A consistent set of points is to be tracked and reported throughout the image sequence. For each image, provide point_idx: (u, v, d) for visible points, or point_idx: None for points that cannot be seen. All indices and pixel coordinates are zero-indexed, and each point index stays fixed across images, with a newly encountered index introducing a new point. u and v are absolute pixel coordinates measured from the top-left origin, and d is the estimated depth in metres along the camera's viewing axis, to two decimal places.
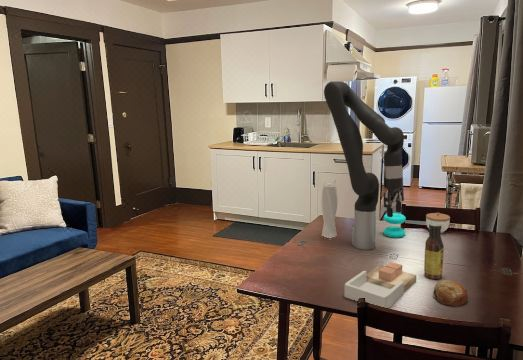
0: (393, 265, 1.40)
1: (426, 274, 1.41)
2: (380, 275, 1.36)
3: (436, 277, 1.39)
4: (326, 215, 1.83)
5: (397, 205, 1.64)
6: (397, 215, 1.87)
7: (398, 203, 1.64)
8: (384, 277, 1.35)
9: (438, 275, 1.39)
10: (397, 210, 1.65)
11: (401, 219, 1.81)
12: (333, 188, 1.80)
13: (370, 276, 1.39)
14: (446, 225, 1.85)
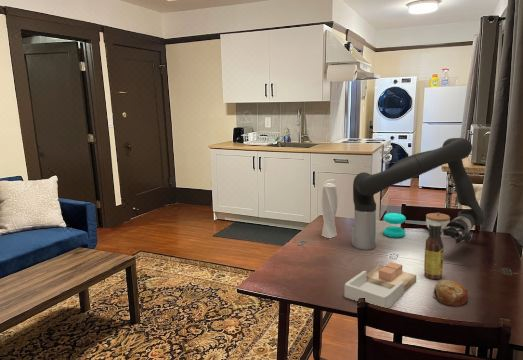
0: (393, 265, 1.40)
1: (426, 274, 1.41)
2: (380, 275, 1.36)
3: (436, 277, 1.39)
4: (326, 215, 1.83)
5: None
6: (397, 215, 1.87)
7: None
8: (384, 277, 1.35)
9: (438, 275, 1.39)
10: None
11: (401, 219, 1.81)
12: (333, 188, 1.80)
13: (370, 276, 1.39)
14: None
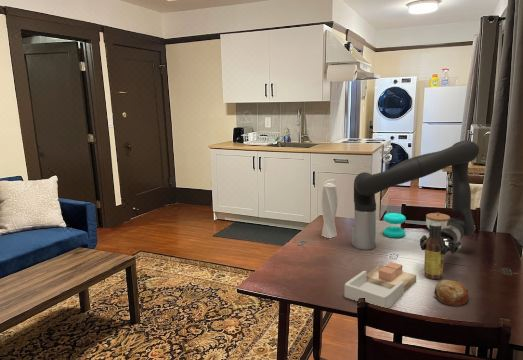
0: (393, 265, 1.40)
1: (426, 274, 1.41)
2: (380, 275, 1.36)
3: (436, 277, 1.39)
4: (326, 215, 1.83)
5: None
6: (397, 215, 1.87)
7: None
8: (384, 277, 1.35)
9: (438, 275, 1.39)
10: (424, 246, 1.41)
11: (401, 219, 1.81)
12: (333, 188, 1.80)
13: (370, 276, 1.39)
14: (446, 225, 1.85)
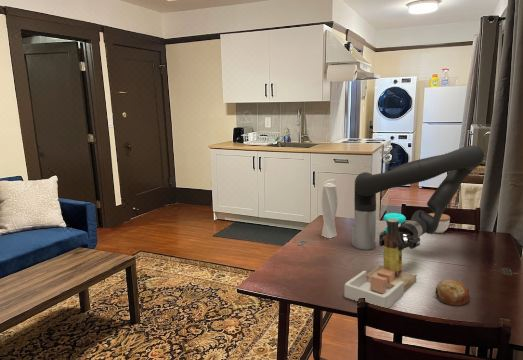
0: (385, 271, 1.35)
1: None
2: None
3: (395, 273, 1.36)
4: (326, 215, 1.83)
5: None
6: (397, 215, 1.87)
7: None
8: None
9: (397, 271, 1.36)
10: (382, 242, 1.37)
11: (401, 219, 1.81)
12: (333, 188, 1.80)
13: (370, 276, 1.39)
14: (446, 225, 1.85)
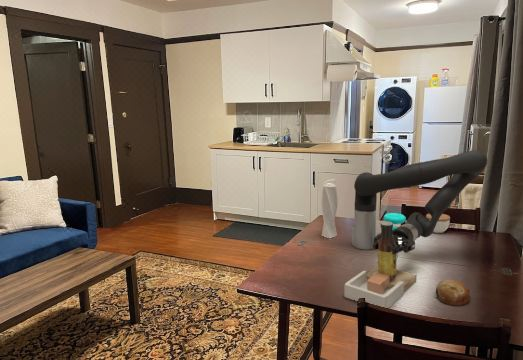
0: (379, 276, 1.32)
1: None
2: None
3: None
4: (326, 215, 1.83)
5: None
6: (397, 215, 1.87)
7: None
8: None
9: (392, 275, 1.33)
10: (376, 245, 1.34)
11: (401, 219, 1.81)
12: (333, 188, 1.80)
13: (370, 276, 1.39)
14: (446, 225, 1.85)
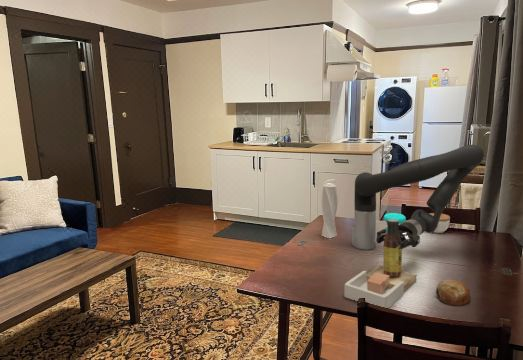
0: (379, 276, 1.32)
1: (385, 272, 1.38)
2: None
3: (394, 274, 1.36)
4: (326, 215, 1.83)
5: (382, 237, 1.40)
6: (397, 215, 1.87)
7: (383, 238, 1.40)
8: None
9: (397, 272, 1.36)
10: (379, 239, 1.38)
11: (401, 219, 1.81)
12: (333, 188, 1.80)
13: (370, 276, 1.39)
14: (446, 225, 1.85)
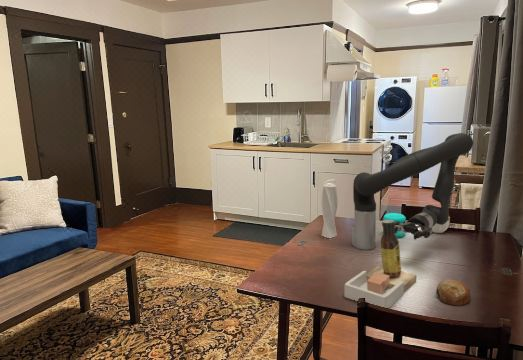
0: (379, 276, 1.32)
1: (385, 272, 1.38)
2: None
3: (394, 275, 1.36)
4: (326, 215, 1.83)
5: (396, 229, 1.48)
6: (397, 215, 1.87)
7: (397, 229, 1.49)
8: None
9: (396, 272, 1.36)
10: None
11: (401, 219, 1.81)
12: (333, 188, 1.80)
13: (370, 276, 1.39)
14: (446, 225, 1.85)
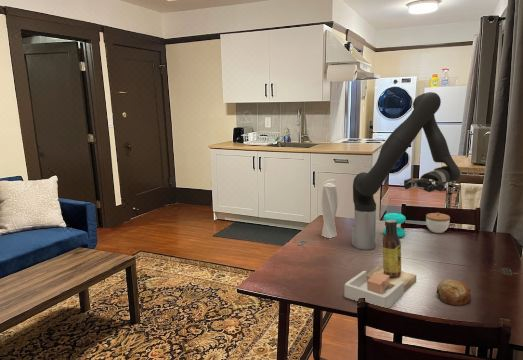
0: (379, 276, 1.32)
1: (385, 272, 1.38)
2: None
3: (394, 275, 1.36)
4: (326, 215, 1.83)
5: (409, 184, 1.48)
6: (397, 215, 1.87)
7: (410, 185, 1.49)
8: None
9: (397, 272, 1.36)
10: (407, 185, 1.46)
11: (401, 219, 1.81)
12: (333, 188, 1.80)
13: (370, 276, 1.39)
14: (446, 225, 1.85)
